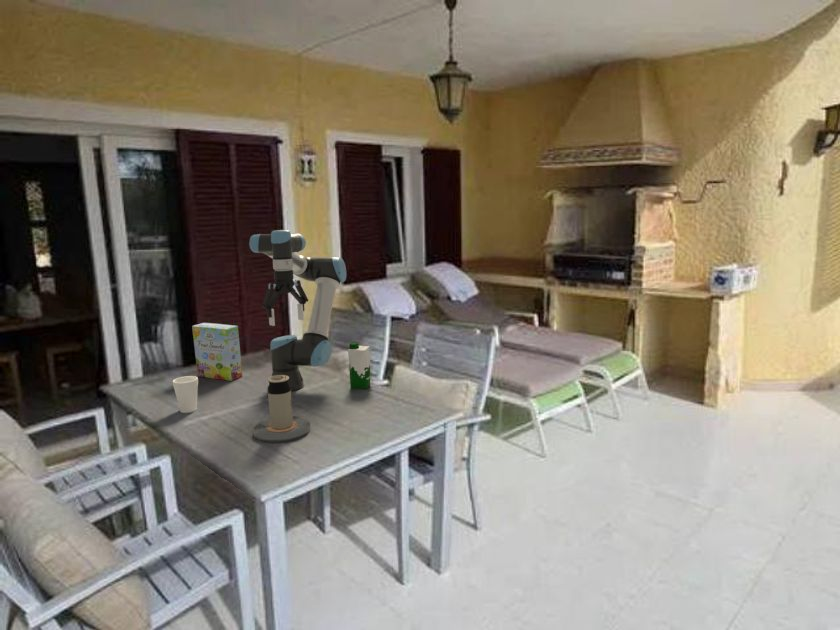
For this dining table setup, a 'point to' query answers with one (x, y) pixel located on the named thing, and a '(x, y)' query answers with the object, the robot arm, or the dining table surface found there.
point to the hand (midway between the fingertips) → (287, 322)
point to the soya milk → (359, 366)
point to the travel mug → (280, 402)
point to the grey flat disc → (281, 431)
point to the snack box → (217, 351)
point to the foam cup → (186, 393)
